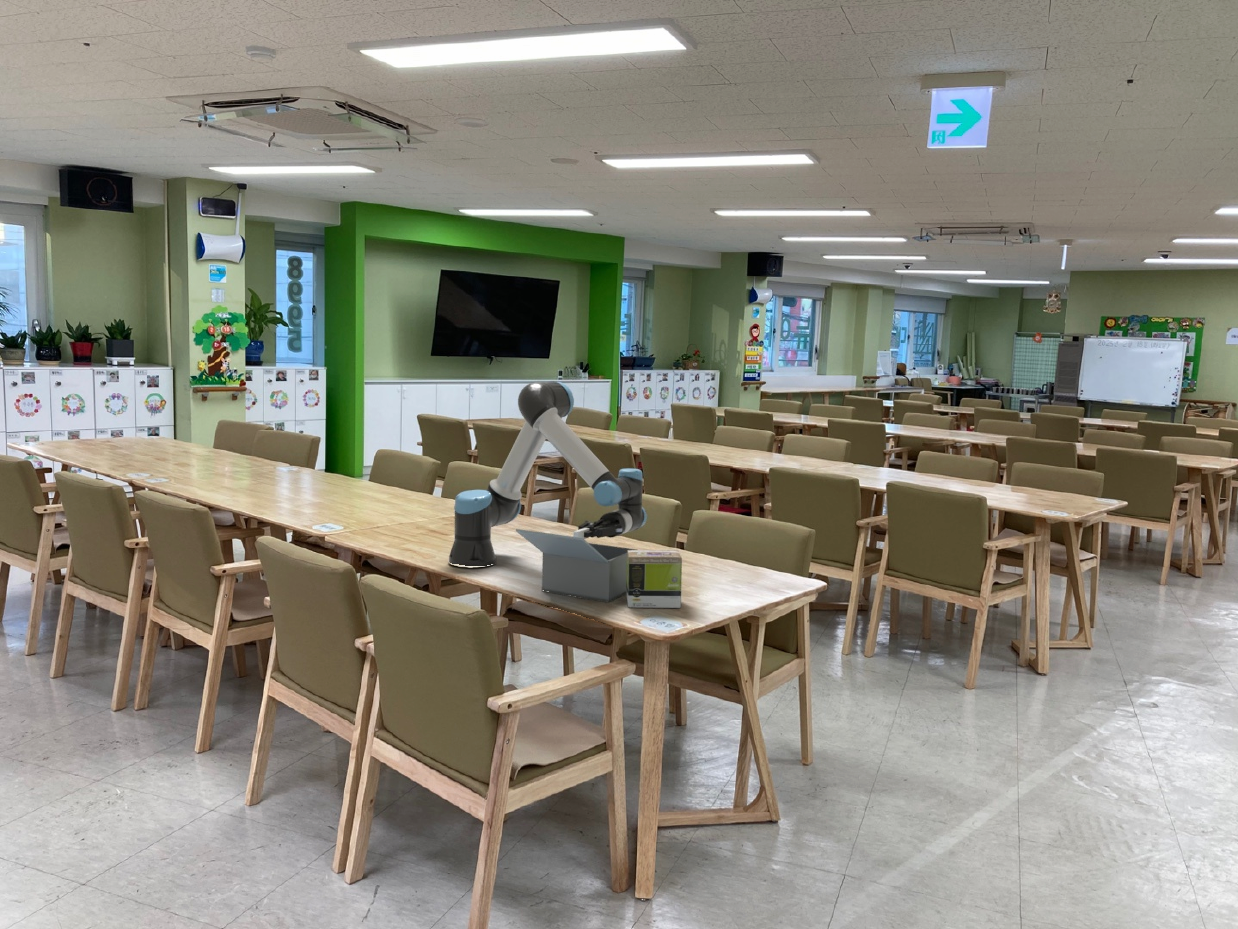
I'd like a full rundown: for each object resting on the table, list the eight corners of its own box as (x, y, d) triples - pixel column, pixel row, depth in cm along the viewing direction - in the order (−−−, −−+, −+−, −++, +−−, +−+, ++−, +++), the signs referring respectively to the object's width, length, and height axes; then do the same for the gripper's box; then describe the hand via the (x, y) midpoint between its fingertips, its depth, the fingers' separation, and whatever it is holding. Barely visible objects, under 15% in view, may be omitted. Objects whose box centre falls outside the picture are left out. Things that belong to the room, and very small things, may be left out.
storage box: (541, 591, 277) (542, 551, 276) (572, 578, 293) (573, 540, 292) (608, 602, 268) (609, 561, 266) (636, 588, 283) (637, 549, 282)
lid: (544, 551, 276) (543, 553, 275) (516, 528, 261) (515, 530, 261) (608, 560, 266) (607, 562, 266) (582, 538, 252) (582, 540, 251)
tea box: (677, 599, 273) (679, 549, 271) (680, 609, 263) (683, 557, 261) (625, 598, 273) (627, 548, 271) (626, 608, 263) (628, 556, 261)
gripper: (633, 538, 286) (595, 552, 265) (596, 533, 292) (555, 546, 271) (634, 513, 285) (596, 525, 264) (596, 509, 291) (556, 520, 270)
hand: (575, 536), depth 268 cm, fingers closed
